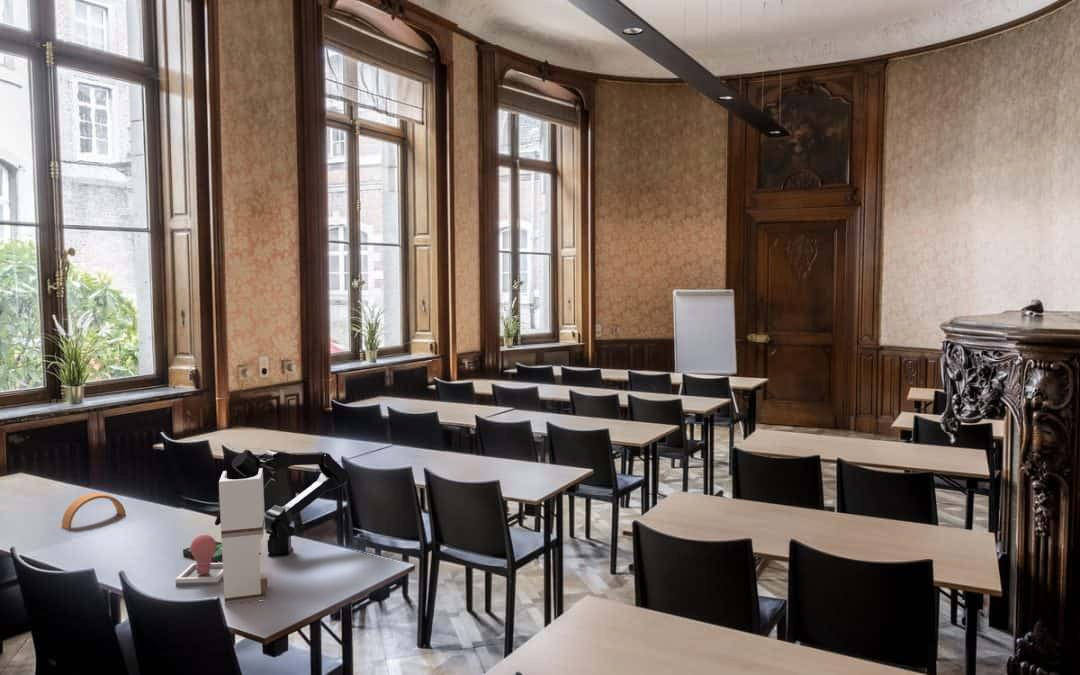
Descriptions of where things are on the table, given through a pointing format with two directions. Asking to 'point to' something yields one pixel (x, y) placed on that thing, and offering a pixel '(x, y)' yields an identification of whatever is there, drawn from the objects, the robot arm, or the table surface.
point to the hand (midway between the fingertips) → (223, 527)
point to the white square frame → (201, 576)
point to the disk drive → (216, 556)
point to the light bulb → (203, 552)
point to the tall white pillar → (242, 537)
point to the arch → (84, 499)
